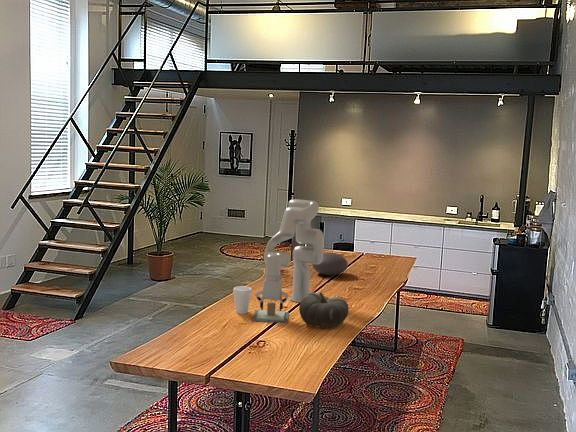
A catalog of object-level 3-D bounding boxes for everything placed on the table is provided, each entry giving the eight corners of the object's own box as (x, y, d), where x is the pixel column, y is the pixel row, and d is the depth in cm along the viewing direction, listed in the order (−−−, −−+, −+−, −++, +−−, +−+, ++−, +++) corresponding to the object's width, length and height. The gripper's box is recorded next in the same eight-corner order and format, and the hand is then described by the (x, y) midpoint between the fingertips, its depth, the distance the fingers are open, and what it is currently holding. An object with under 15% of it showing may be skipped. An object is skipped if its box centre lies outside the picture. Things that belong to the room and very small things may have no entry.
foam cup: (253, 311, 340) (254, 287, 339) (246, 315, 332) (247, 291, 330) (237, 308, 343) (237, 285, 342) (229, 313, 335) (230, 289, 333)
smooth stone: (353, 274, 439) (354, 253, 437) (336, 280, 418) (337, 258, 416) (322, 269, 452) (323, 248, 450) (304, 274, 431) (305, 253, 429)
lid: (284, 312, 338) (285, 300, 337) (283, 320, 324) (284, 307, 323) (258, 311, 338) (259, 299, 337) (256, 319, 324) (257, 306, 324)
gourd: (297, 310, 336) (304, 280, 332) (343, 320, 336) (350, 290, 332) (295, 329, 312) (302, 297, 307) (344, 340, 311) (352, 308, 307)
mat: (288, 312, 340) (288, 312, 340) (287, 323, 322) (287, 322, 322) (255, 311, 340) (255, 310, 340) (252, 321, 323) (252, 320, 322)
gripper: (289, 277, 332) (288, 308, 334) (256, 275, 332) (255, 307, 335) (289, 280, 324) (287, 312, 327) (255, 278, 325) (254, 311, 327)
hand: (271, 309), depth 331 cm, fingers open, 9 cm apart
